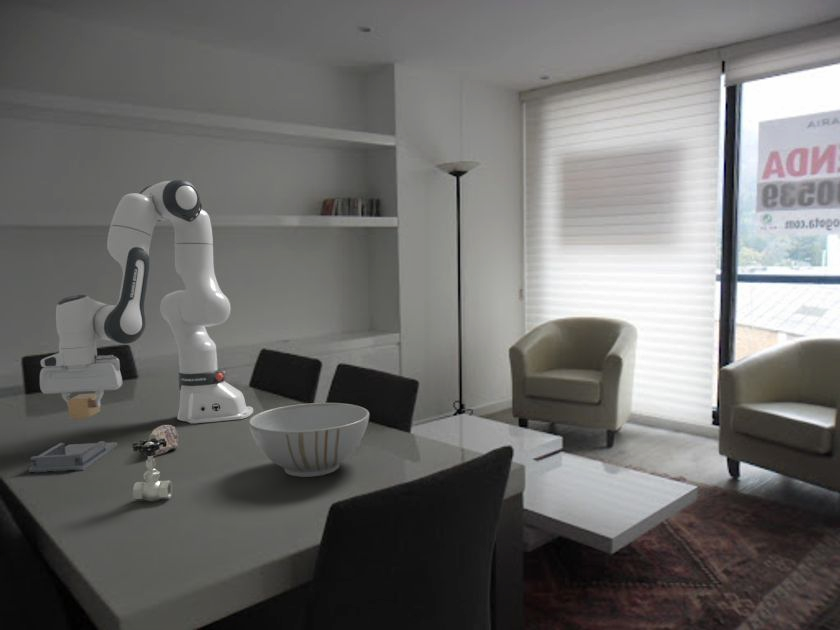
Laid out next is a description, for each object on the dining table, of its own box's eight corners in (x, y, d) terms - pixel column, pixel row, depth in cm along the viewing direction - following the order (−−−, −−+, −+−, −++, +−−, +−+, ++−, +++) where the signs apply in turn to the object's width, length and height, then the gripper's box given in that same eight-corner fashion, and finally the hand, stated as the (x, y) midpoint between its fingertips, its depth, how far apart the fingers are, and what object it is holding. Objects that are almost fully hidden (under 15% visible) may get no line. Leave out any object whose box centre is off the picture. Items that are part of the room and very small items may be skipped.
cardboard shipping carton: (100, 411, 183) (98, 393, 182) (89, 417, 176) (87, 399, 175) (81, 412, 183) (79, 394, 182) (69, 418, 176) (67, 400, 175)
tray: (117, 445, 176) (116, 432, 176) (83, 470, 156) (82, 455, 156) (69, 448, 175) (68, 435, 175) (29, 472, 155) (27, 458, 155)
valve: (141, 495, 137) (137, 438, 136) (174, 493, 138) (171, 436, 137) (130, 507, 131) (126, 447, 130) (165, 505, 131) (161, 445, 130)
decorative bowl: (318, 496, 133) (315, 437, 132) (225, 477, 148) (222, 423, 147) (394, 459, 156) (392, 408, 155) (307, 445, 170) (304, 398, 169)
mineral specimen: (177, 456, 165) (175, 431, 165) (146, 459, 163) (144, 434, 163) (180, 442, 177) (179, 419, 177) (151, 445, 175) (150, 422, 175)
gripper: (123, 352, 181) (128, 402, 183) (46, 357, 180) (51, 407, 182) (114, 356, 175) (119, 408, 176) (33, 361, 174) (39, 413, 175)
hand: (84, 407), depth 179 cm, fingers closed on cardboard shipping carton, 5 cm apart
